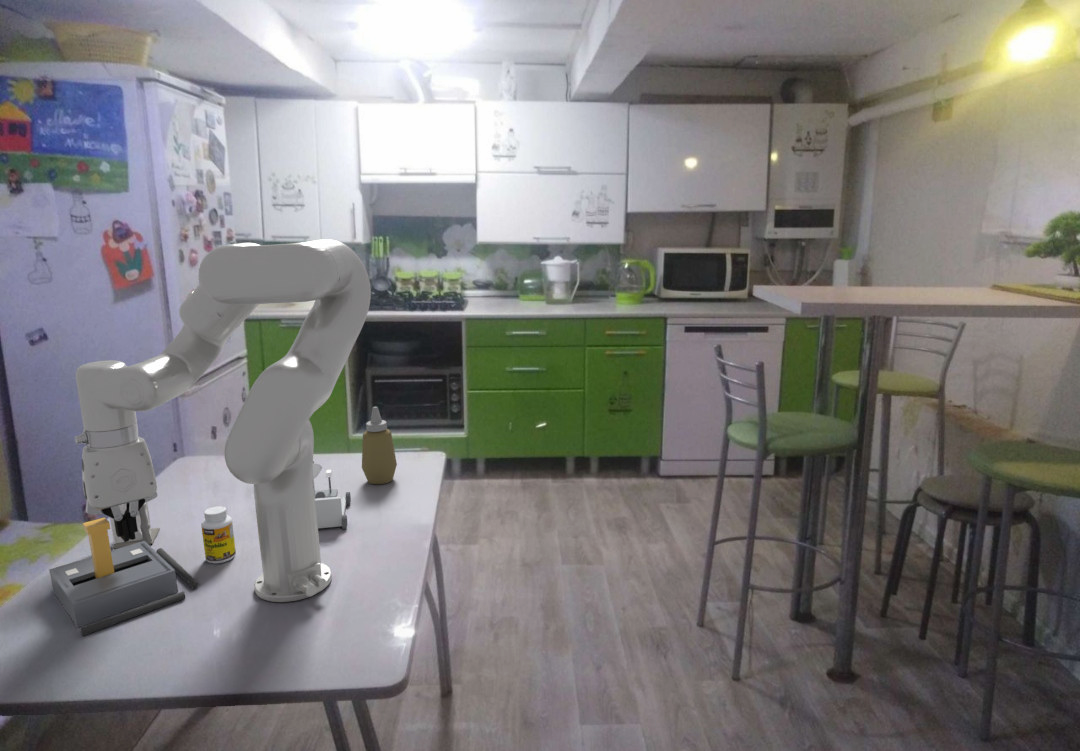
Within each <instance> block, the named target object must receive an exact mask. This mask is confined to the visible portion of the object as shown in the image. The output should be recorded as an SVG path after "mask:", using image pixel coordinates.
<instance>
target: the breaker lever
mask: <svg viewBox="0 0 1080 751" xmlns="http://www.w3.org/2000/svg"><path fill="white" fill-rule="evenodd" d="M82 527H83V531H84V532H85V533H86V534H87V535H88V541H89V547H90V549H89V550H90V553H91V554H90V555H91V557H92V560H93V566H94V572H95V578H96V579H97V578H100V577H103V576H106V575H109V574H112V573H114V567H113V561H112V555H111V551H112V548H111V545H110V543H111V542H110V538H109V531H108V530H111V523H110V521H109V520H108V519H107V518H106V517H105V516H104V517H101V518H97V519H93V520H89V521H86V522H83V523H82Z"/></svg>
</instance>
